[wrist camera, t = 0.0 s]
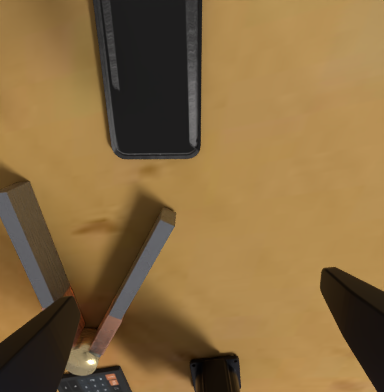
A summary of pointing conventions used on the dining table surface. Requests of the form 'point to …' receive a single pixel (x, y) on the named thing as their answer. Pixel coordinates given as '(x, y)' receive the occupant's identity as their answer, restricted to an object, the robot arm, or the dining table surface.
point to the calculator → (96, 381)
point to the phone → (151, 76)
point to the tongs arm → (120, 300)
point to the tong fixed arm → (35, 245)
